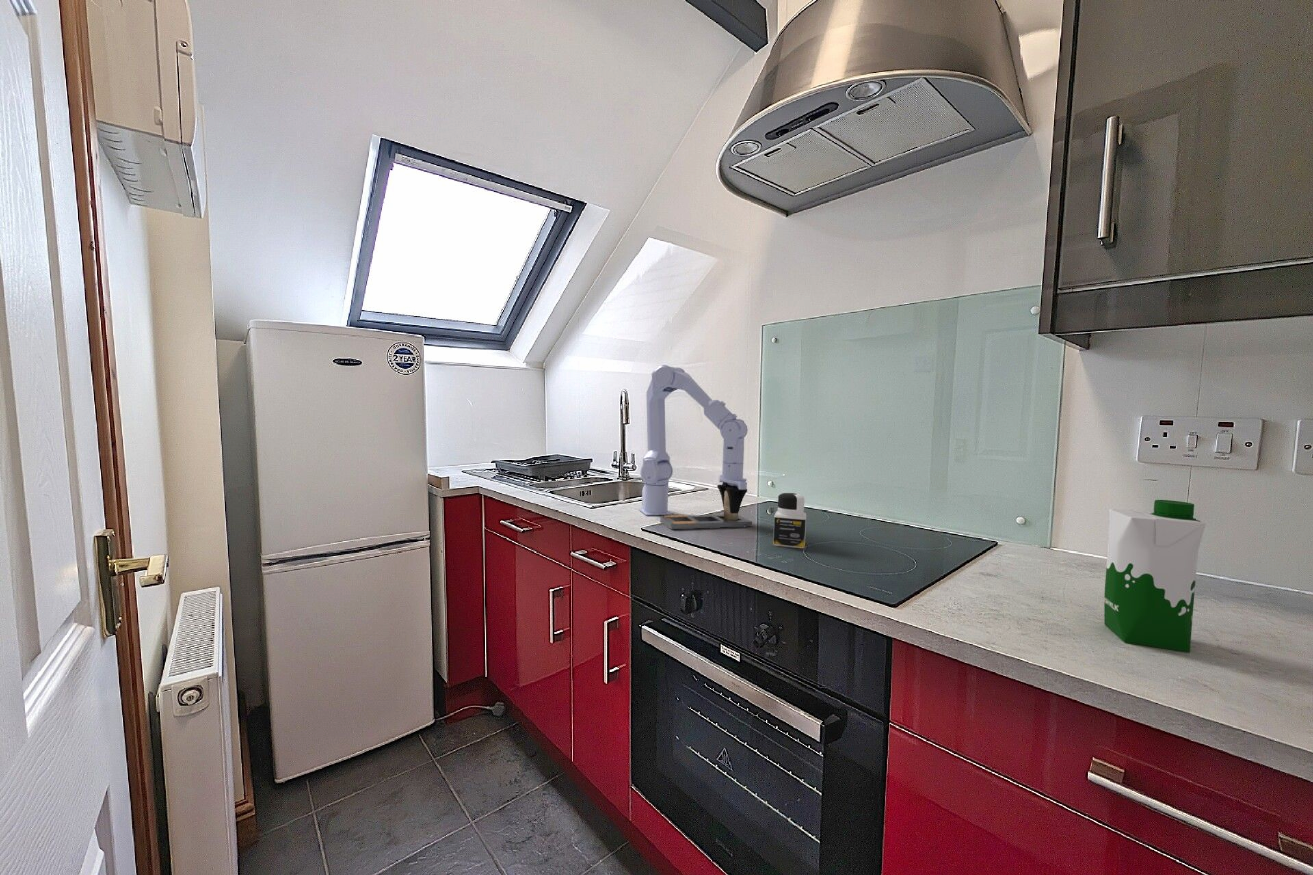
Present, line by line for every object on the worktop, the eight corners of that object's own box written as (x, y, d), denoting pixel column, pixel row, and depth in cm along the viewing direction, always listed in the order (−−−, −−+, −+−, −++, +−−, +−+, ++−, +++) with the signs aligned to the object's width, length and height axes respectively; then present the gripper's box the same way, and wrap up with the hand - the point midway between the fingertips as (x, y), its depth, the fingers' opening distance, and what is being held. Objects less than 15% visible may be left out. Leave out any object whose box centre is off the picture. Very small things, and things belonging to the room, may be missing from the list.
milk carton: (1202, 657, 70) (1215, 508, 69) (1117, 643, 73) (1128, 502, 72) (1168, 632, 78) (1179, 499, 77) (1093, 621, 81) (1102, 493, 80)
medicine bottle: (772, 545, 122) (775, 494, 122) (775, 538, 129) (777, 490, 129) (804, 548, 120) (806, 497, 120) (805, 541, 127) (807, 492, 127)
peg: (721, 518, 147) (722, 490, 146) (734, 518, 148) (735, 490, 148) (726, 521, 143) (728, 492, 143) (740, 521, 144) (741, 492, 144)
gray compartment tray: (660, 521, 145) (660, 515, 145) (736, 519, 151) (736, 513, 151) (671, 529, 136) (671, 523, 135) (751, 526, 142) (752, 520, 142)
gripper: (758, 465, 139) (755, 516, 140) (735, 460, 153) (733, 506, 153) (733, 465, 137) (731, 517, 138) (712, 460, 151) (711, 506, 152)
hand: (731, 511), depth 145 cm, fingers closed on peg, 4 cm apart
